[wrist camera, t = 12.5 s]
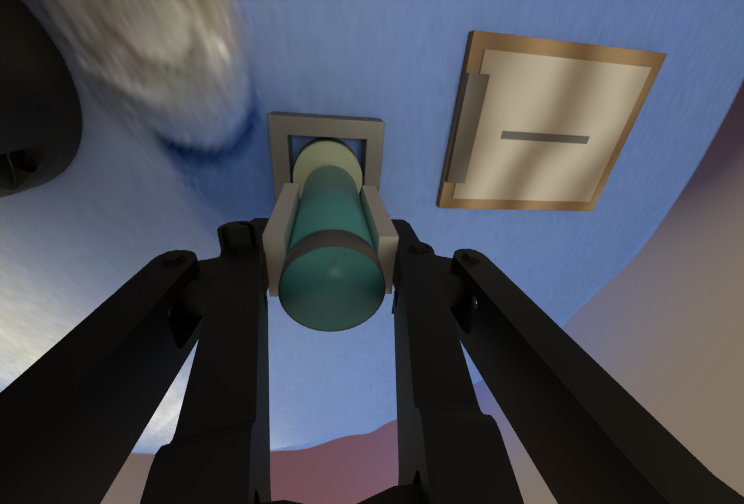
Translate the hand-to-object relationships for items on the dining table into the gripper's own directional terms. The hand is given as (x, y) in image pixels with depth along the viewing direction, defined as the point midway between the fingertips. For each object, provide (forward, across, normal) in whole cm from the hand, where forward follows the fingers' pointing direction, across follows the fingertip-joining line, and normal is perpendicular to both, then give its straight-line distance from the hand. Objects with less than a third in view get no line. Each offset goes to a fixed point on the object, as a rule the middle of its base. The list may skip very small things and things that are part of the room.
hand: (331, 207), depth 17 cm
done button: (+8, 0, 0) cm, 8 cm away
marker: (+5, 0, 0) cm, 5 cm away
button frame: (+9, 0, 0) cm, 9 cm away
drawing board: (+9, +18, +4) cm, 20 cm away
